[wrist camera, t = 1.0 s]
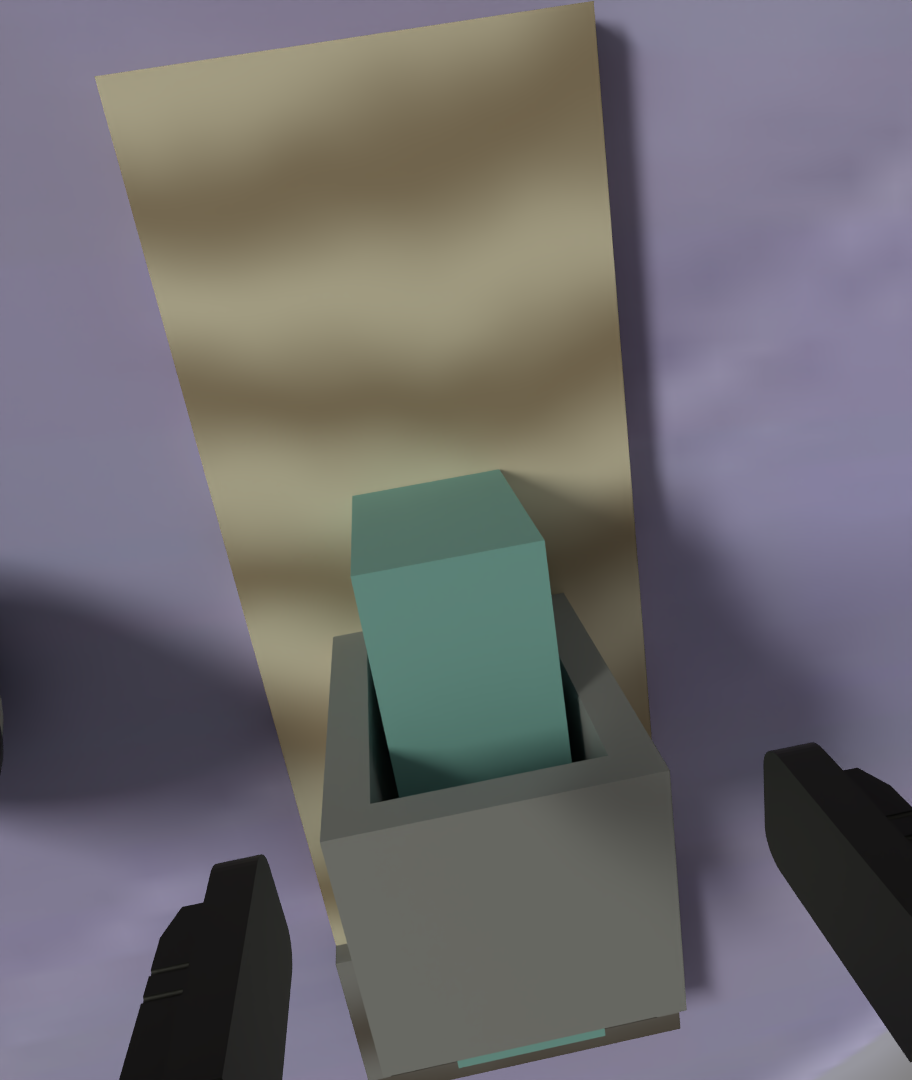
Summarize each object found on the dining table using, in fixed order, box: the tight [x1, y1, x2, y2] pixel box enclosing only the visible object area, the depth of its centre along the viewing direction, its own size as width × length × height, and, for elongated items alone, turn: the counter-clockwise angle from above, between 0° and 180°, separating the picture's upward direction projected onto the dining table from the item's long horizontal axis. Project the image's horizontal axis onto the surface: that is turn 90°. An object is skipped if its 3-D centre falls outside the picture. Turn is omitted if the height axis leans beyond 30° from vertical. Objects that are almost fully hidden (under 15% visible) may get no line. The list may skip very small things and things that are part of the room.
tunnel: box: [320, 593, 686, 1077], centre depth 25 cm, size 8×8×10 cm
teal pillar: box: [350, 469, 605, 1068], centre depth 27 cm, size 18×5×7 cm, turn 9°
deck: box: [95, 1, 680, 1080], centre depth 30 cm, size 40×14×2 cm, turn 9°
